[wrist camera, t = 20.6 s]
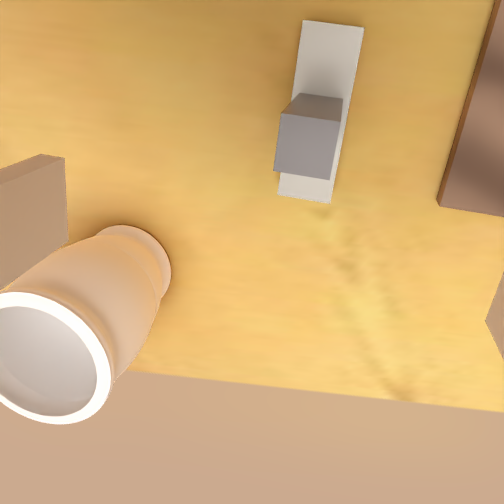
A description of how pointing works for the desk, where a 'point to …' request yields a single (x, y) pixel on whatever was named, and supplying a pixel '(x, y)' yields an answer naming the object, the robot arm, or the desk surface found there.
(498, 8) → the board
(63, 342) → the jar
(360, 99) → the desk surface
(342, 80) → the paddle
